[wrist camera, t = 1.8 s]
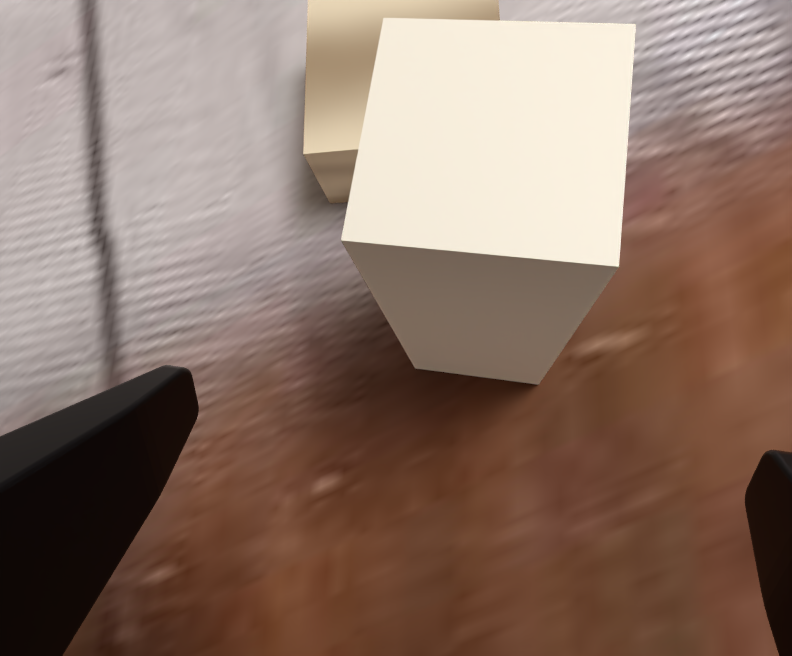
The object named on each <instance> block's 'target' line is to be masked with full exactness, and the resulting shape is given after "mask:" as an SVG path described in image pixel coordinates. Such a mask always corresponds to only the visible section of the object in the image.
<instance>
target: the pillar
mask: <svg viewBox="0 0 792 656" xmlns="http://www.w3.org/2000/svg"><path fill="white" fill-rule="evenodd" d="M635 29H636V24H612V23H573V22H533V21H494V20H454V19H415V18H383V23H382V28H381V33H380V39H379V44H378V49H377V54H376V60H375V65H374V70H373V75H372V81H371V86H370V91H369V96H368V102H367V107H366V112H365V117H364V123H363V128H362V133H361V138H360V143H359V149H358V154H357V159H356V164H355V170H354V175H353V180H352V185H351V191H350V196H349V201H348V206H347V212H346V217H345V222H344V227H343V233H342V238H341V241H342V243H343V245H344V246H345V248H346V250H347V252H348V253H349V255H350V257H351V258H352V260H353V262H354V264H355V265H356V267H357V269H358V271H359V272H360V274H361V276H362V278H363V279H364V281H365V283H366V284H367V286H368V288H369V290H370V291H371V293H372V295H373V297H374V298H375V300H376V302H377V303H378V305H379V307H380V309H381V310H382V312H383V314H384V316H385V317H386V319H387V321H388V322H389V324H390V326H391V328H392V329H393V331H394V333H395V335H396V336H397V338H398V340H399V341H400V343H401V345H402V347H403V348H404V350H405V352H406V354H407V355H408V357H409V359H410V360H411V362H412V364H413V366H414V367H415V368H416V369H424V370H431V371H439V372H446V373H454V374H462V375H469V376H477V377H484V378H492V379H500V380H507V381H515V382H522V383H530V384H538V385H539V384H540V382H541V381H542V379H543V378H544V376H545V375H546V373H547V372H548V370H549V369H550V367H551V366H552V364H553V363H554V361H555V360H556V359H557V357H558V356H559V354H560V353H561V351H562V350H563V348H564V347H565V345H566V344H567V342H568V341H569V339H570V338H571V336H572V335H573V333H574V332H575V331H576V329H577V328H578V326H579V325H580V323H581V322H582V320H583V319H584V317H585V316H586V314H587V313H588V311H589V310H590V308H591V307H592V305H593V304H594V303H595V301H596V300H597V298H598V297H599V295H600V294H601V292H602V291H603V289H604V288H605V286H606V285H607V283H608V282H609V280H610V279H611V278H612V276H613V275H614V273H615V272H616V270H617V269H618V267H619V257H620V243H621V229H622V215H623V200H624V186H625V172H626V158H627V143H628V129H629V115H630V101H631V86H632V72H633V58H634V44H635Z"/></svg>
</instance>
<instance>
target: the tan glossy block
mask: <svg viewBox="0 0 792 656" xmlns="http://www.w3.org/2000/svg"><path fill="white" fill-rule="evenodd" d="M383 18H415V19H454V20H494V21H500V17H499V3H498V0H308V16H307V49H306V82H305V115H304V148H303V154H304V156H305V158H306V160H307V162H308V164H309V165H310V167H311V169H312V171H313V173H314V175H315V176H316V178H317V180H318V182H319V184H320V186H321V188H322V189H323V191H324V193H325V195H326V197H327V199H328V200H329V202H330V203H343V202H348V201H349V196H350V191H351V185H352V180H353V175H354V170H355V164H356V159H357V154H358V149H359V143H360V138H361V133H362V128H363V123H364V117H365V112H366V107H367V102H368V96H369V91H370V86H371V81H372V75H373V70H374V65H375V60H376V54H377V49H378V44H379V39H380V33H381V28H382V23H383Z"/></svg>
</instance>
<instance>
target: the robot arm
mask: <svg viewBox="0 0 792 656" xmlns="http://www.w3.org/2000/svg"><path fill="white" fill-rule="evenodd" d="M198 411H199V407H198V401H197V396H196V391H195V387H194V382H193V378H192V374H191V372H190V371H189V370H188V369H187V368H185V367H178V366H171V365H165V366H161V367H159V368H157V369H154V370H152V371H150V372H147V373H145V374H143V375H141V376H138V377H136V378H134V379H131V380H129V381H127V382H124V383H122V384H120V385H118V386H115V387H113V388H111V389H108V390H106V391H104V392H101V393H99V394H97V395H94V396H92V397H90V398H88V399H85V400H83V401H81V402H78V403H76V404H74V405H71V406H69V407H67V408H65V409H62V410H60V411H58V412H55V413H53V414H51V415H48V416H46V417H44V418H42V419H39V420H37V421H35V422H32V423H30V424H28V425H25V426H23V427H21V428H18V429H16V430H14V431H12V432H9V433H7V434H5V435H2V436H0V656H62V655H63V654H64V652H65V650H66V649H67V647H68V646H69V644H70V642H71V641H72V639H73V637H74V636H75V634H76V633H77V631H78V629H79V628H80V626H81V624H82V623H83V621H84V619H85V618H86V616H87V615H88V613H89V611H90V610H91V608H92V606H93V605H94V603H95V601H96V600H97V598H98V597H99V595H100V593H101V592H102V590H103V588H104V587H105V585H106V584H107V582H108V580H109V579H110V577H111V575H112V574H113V572H114V570H115V569H116V567H117V566H118V564H119V562H120V561H121V559H122V557H123V556H124V554H125V552H126V551H127V549H128V548H129V546H130V544H131V543H132V541H133V539H134V538H135V536H136V535H137V533H138V531H139V530H140V528H141V526H142V525H143V523H144V521H145V520H146V518H147V517H148V515H149V513H150V512H151V510H152V508H153V507H154V505H155V503H156V501H157V500H158V498H159V496H160V495H161V493H162V491H163V489H164V487H165V485H166V483H167V481H168V479H169V477H170V474H171V472H172V470H173V468H174V466H175V464H176V462H177V460H178V458H179V456H180V453H181V451H182V449H183V447H184V445H185V443H186V441H187V439H188V437H189V435H190V432H191V430H192V428H193V426H194V424H195V422H196V419H197V416H198ZM745 507H746V513H747V518H748V523H749V529H750V534H751V539H752V545H753V550H754V556H755V561H756V566H757V572H758V577H759V582H760V588H761V593H762V597H763V602H764V606H765V610H766V613H767V617H768V620H769V624H770V627H771V630H772V634H773V637H774V640H775V643H776V646H777V650H778V653H779V656H792V452H785V451H778V450H769V451H767V452H765V453H764V454H763V456H762V458H761V460H760V462H759V464H758V466H757V468H756V470H755V472H754V474H753V477H752V479H751V481H750V483H749V485H748V487H747V490H746V494H745Z"/></svg>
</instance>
